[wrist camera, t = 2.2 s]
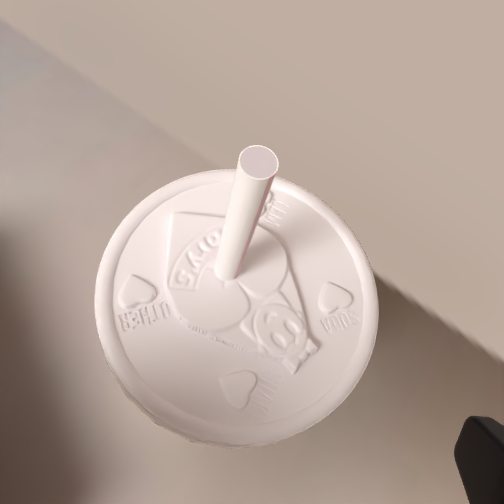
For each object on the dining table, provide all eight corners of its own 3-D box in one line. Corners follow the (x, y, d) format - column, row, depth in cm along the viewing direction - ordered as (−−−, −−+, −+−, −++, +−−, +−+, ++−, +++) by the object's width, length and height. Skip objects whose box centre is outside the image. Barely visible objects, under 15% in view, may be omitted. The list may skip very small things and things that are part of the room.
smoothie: (218, 260, 21) (288, -38, 8) (319, 370, 20) (590, 223, 7) (96, 356, 18) (-77, 150, 6) (202, 488, 17) (284, 598, 5)
